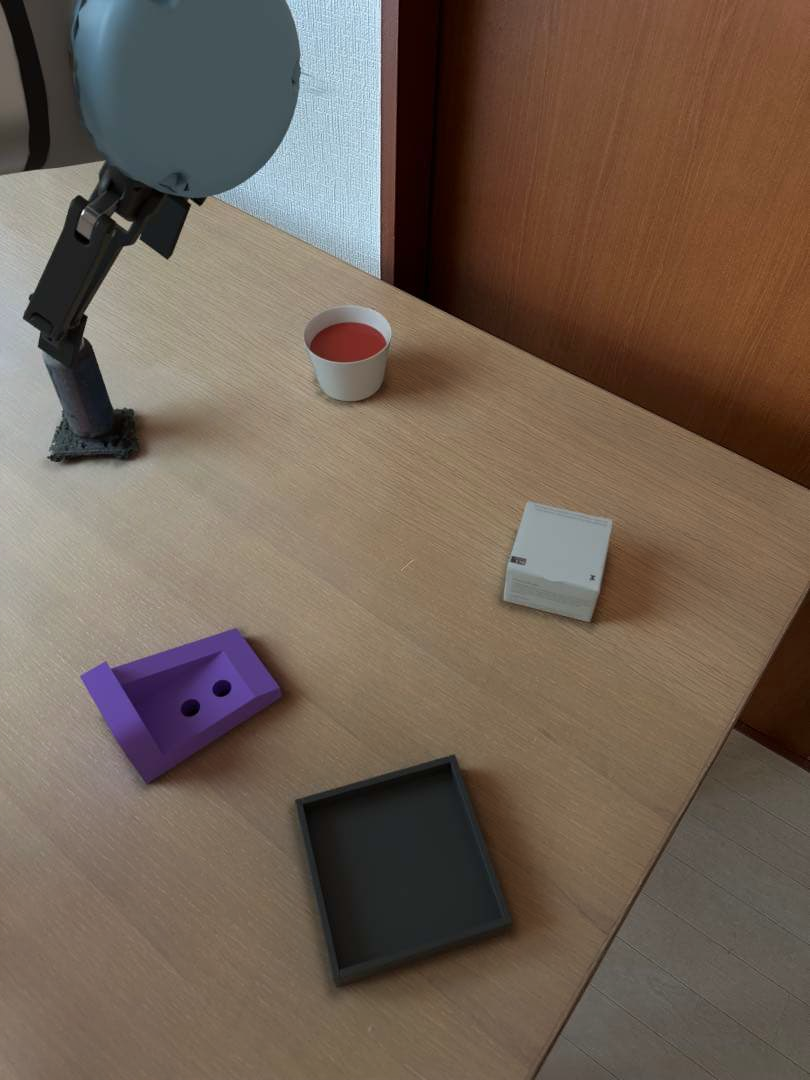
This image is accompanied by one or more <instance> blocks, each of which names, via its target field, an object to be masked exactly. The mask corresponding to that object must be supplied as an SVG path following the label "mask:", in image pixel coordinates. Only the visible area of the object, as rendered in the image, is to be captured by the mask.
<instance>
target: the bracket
mask: <svg viewBox="0 0 810 1080" xmlns="http://www.w3.org/2000/svg"><path fill="white" fill-rule="evenodd" d="M79 677H80V680H81V681H82V683H83V684H84V687H85V688H86V690H87V691H88V694H89V695H90V697H91V699H92V700H93V703H94V704H95V705H96V707H97V709H98V711H99V713H100V714H101V716H102V718H103V720H104V721H105V724H106V725H107V727H108V728H109V730H110V732H111V733H112V735H113V737H114V738H115V740H116V742H117V744H118V745H119V747H120V749H121V750H122V751H123V753H124V754H125V757H126V758H127V759H128V760H129V762H130V763H131V764H132V766H133V768H134V769H135V770H136V772H137V774H138V775H139V776H140V777H141V779H142V780H143V782H144V783H145V785H147V784H149V783H151V782H152V781H154V780H156V779H158V778H159V777H160V776H161V775H163V774H165V773H166V772H168V771H169V770H170V769H172V768H174V767H175V766H177V765H178V764H180V763H181V762H183V761H185V760H187V758H190V757H191V756H192V755H194V754H195V753H197V752H198V751H200V750H202V749H203V748H205V747H207V746H208V745H209V744H211V743H213V742H214V741H216V740H217V739H219V738H220V737H222V736H223V735H225V734H226V733H228V732H230V731H231V730H232V729H234V728H235V727H238V726H239V725H241V724H242V723H243V722H245V721H247V720H248V719H250V718H251V717H253V716H255V715H256V714H257V713H259V712H261V711H262V710H264V709H265V708H267V707H268V706H270V705H271V704H273V703H274V702H276V701H278V700H279V699H281V698H282V697H283V694H282V691H281V687H280V686H279V684H278V683H277V682H276V680H275V679H274V677H273V676H272V675H271V673H270V672H269V670H268V669H267V668H266V666H265V665H264V664H263V662H262V661H261V660H260V659H259V657H258V656H257V654H256V653H255V652H254V650H253V649H252V647H251V646H250V644H249V643H248V642H247V640H246V639H245V638H244V636H243V635H242V633H241V632H240V631H239V630H238V629H237V627H235V628H232V629H231V628H230V629H229V630H225V631H222V632H219V633H216V634H213V635H210V636H207V637H204V638H201V639H198V640H194V641H191V642H188V643H185V644H183V645H178V646H176V647H173V648H170V649H167V650H164V651H160V652H157V653H153V654H151V655H148V656H144V657H142V658H138V659H136V660H133V661H129V662H126V663H124V664H123V663H122V664H120V665H117V666H114V667H110V665H109V663H108V662H107V661H106V660H105V661H103V662H101V663H99V664H98V665H96V666H95V667H93V668H91V669H89V670H87V671H86V672H84V673H82V674H81V675H80V676H79ZM227 691H229V692H228V694H226V695H224V696H219V695H220V694H222V693H224V692H227ZM197 710H198V712H197V713H196V714H194V715H192V716H188V715H189V714H190V713H192V712H194V711H197Z"/></svg>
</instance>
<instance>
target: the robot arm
mask: <svg viewBox="0 0 810 1080" xmlns="http://www.w3.org/2000/svg"><path fill="white" fill-rule="evenodd" d="M296 25H297V24H296V22H295V20H294V17H293V14H292V11H291V8H290V6H289V4H288V2H287V0H0V177H1V176H8V175H13V174H18V173H26V172H33V171H41V170H51V169H59V168H60V169H61V168H67V167H73V166H80V165H86V164H92V163H99V162H103V164H102V165H101V167H100V170H99V171H98V182H97V184H96V185H95V187H94V189H93V191H92V192H91V194H90V196H89V198H88V199H86V198H85V197H84V196H83V195H81V194H77V195H76V196H75V197H74V198H72V200H71V201H70V203H69V206H68V209H67V213H66V217H65V220H64V224H63V228H62V230H61V232H60V234H59V237H58V239H57V241H56V243H55V245H54V247H53V250H52V252H51V254H50V256H49V259H48V260H47V263H46V265H45V267H44V270H43V272H42V274H41V276H40V278H39V281H37V282H38V283H37V285H36V287H35V289H34V291H33V293H30V294H29V296H28V301H29V302H28V304H27V307H26V309H24V312H23V315H22V320H23V321H25V322H27V323H28V324H29V325H31V326H32V327H34V329H37V330H38V331H40V332H39V337H38V343H37V348H38V349H39V350H41V351H44V352H46V353H47V354H48V355H50V356H51V357H53V358H54V359H56V360H57V361H59V362H60V363H62V364H63V365H65V366H66V367H68V368H69V369H71V367H72V366H73V365H74V364H75V363H76V360H77V356H78V353H79V349H80V345H81V341H82V338H83V337H84V334H85V330H86V327H87V322H88V318H89V316H88V315H87V314H86V313H85V312H87V309H88V307H89V306H90V304H91V303H92V300H93V299H94V298H95V295H96V294H97V292H98V291H99V289H100V287H101V286H102V284H103V282H104V281H105V278H106V277H107V275H108V273H109V272H110V271H111V268H112V267H113V265H114V264H115V262H116V260H117V258H118V257H119V255H120V253H121V252H122V250H123V248H124V247H129V246H132V245H133V246H134V245H135V244H136V243H137V241H138V240H139V241H140V242H143V244H145V245H146V246H147V247H149V248H151V250H153V251H154V252H156V253H157V254H158V255H160V256H161V257H163V258H164V259H166V260H167V261H168V260H169V259H170V258H171V257H172V256H173V254H174V251H175V249H176V246H177V244H178V241H179V238H180V236H181V233H182V230H183V228H184V225H185V222H186V220H187V217H188V215H189V212H190V209H191V207H192V204H191V203H190V202H189V200H191V202H193V203H194V204H196V205H197V206H198V207H202V205H203V204H204V203H205V202H206V200H207V198H209V197H212V196H217V195H221V194H223V193H226V192H228V191H230V190H233V189H235V188H237V187H239V186H240V185H242V184H244V183H245V182H246V181H248V180H249V179H251V178H252V177H253V176H254V175H256V174H257V173H258V172H259V171H260V170H261V169H263V168H264V166H266V164H267V163H268V161H270V159H272V157H273V156H274V154H275V153H276V152H277V150H278V148H279V147H280V145H281V144H282V143H283V141H284V138H285V137H286V135H287V133H288V131H289V129H290V126H291V124H292V120H293V118H294V116H295V115H294V114H295V111H296V108H297V104H298V100H299V94H300V93H299V92H300V79H301V75H302V67H301V64H300V62H301V47H300V40H299V35H298V30H297V26H296ZM115 213H116V215H118V216H120V217H121V218H122V219H123V220H125V221H126V222H129V223H131V225H130V226H129V228H128V230H127V229H125V228H124V227H123V226H121V224H118V223H117V221H116V220H115V219H113V218H112V216H113V215H114V214H115Z"/></svg>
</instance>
